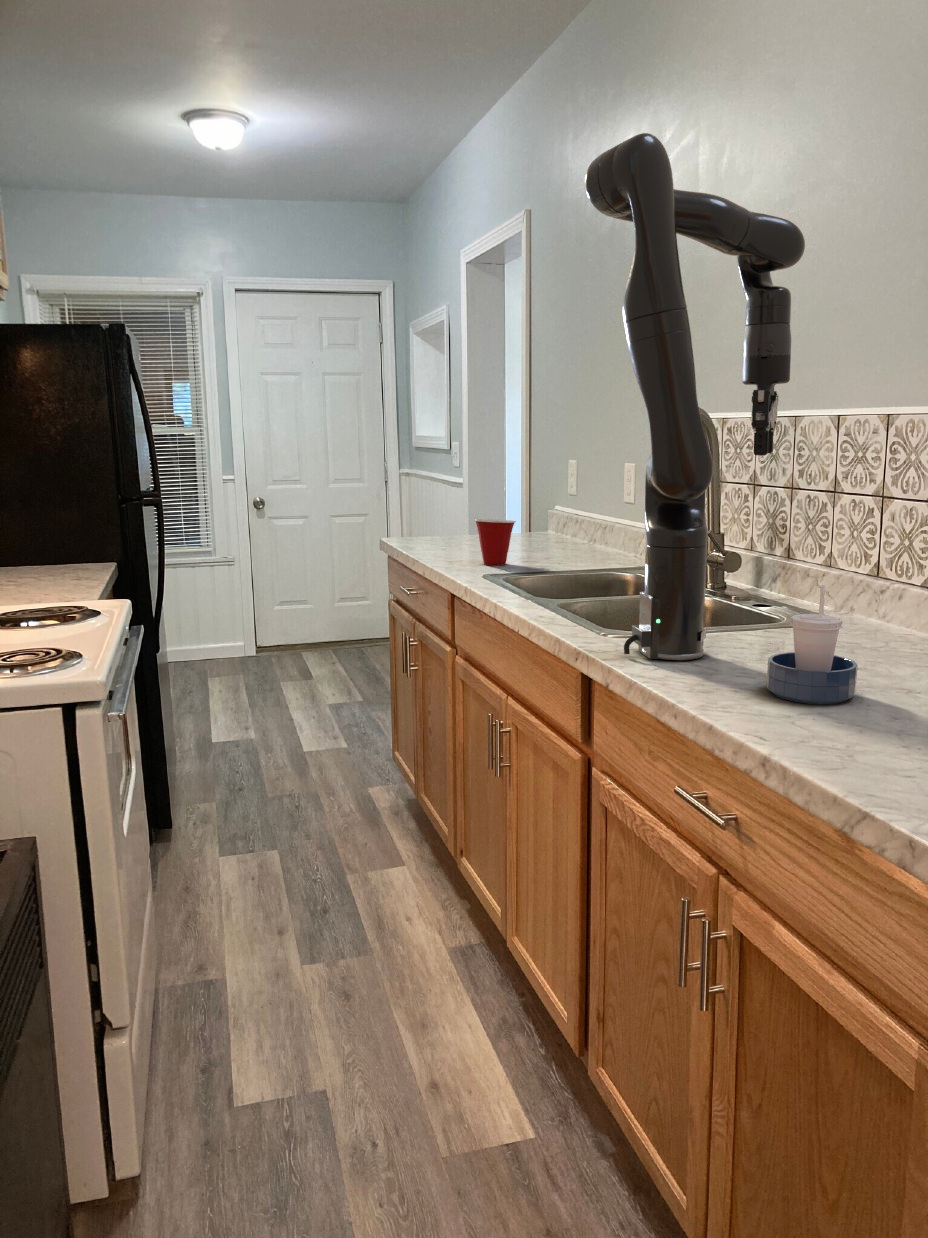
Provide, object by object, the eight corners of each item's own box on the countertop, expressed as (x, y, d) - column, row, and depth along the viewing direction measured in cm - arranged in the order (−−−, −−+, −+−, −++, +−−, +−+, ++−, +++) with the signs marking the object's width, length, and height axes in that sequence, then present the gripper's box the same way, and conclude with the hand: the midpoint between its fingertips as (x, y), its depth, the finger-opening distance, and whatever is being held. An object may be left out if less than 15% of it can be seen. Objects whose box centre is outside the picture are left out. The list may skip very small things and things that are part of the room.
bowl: (790, 708, 122) (792, 673, 121) (752, 685, 133) (754, 653, 132) (871, 704, 123) (874, 669, 122) (828, 682, 134) (830, 650, 133)
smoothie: (841, 697, 124) (849, 590, 121) (789, 695, 125) (796, 588, 123) (833, 684, 130) (840, 582, 128) (783, 682, 132) (789, 581, 129)
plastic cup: (524, 563, 253) (524, 517, 251) (499, 568, 245) (499, 521, 243) (491, 560, 260) (491, 515, 258) (466, 564, 252) (466, 518, 249)
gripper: (748, 357, 166) (745, 453, 169) (737, 352, 153) (734, 456, 156) (793, 355, 163) (790, 452, 166) (787, 350, 150) (783, 455, 154)
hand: (763, 454), depth 161 cm, fingers open, 8 cm apart
